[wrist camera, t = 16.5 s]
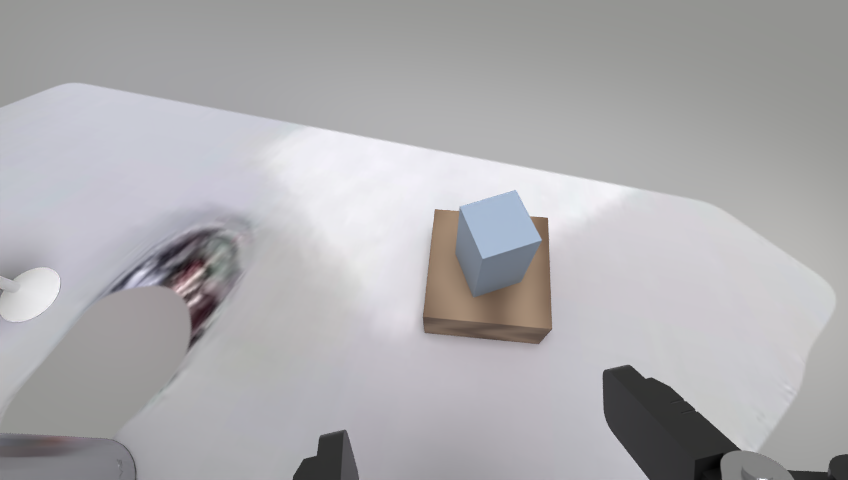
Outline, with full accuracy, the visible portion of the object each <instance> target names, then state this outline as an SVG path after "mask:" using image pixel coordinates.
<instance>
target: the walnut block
mask: <svg viewBox="0 0 848 480" xmlns="http://www.w3.org/2000/svg"><path fill="white" fill-rule="evenodd" d="M530 218H531V220H532V222H533V224H534V226H535V228H536V230H537V232H538V233H539V235H540V237H541V239H542V241H541V243H540V245H539V247H538V249H537V251H536V253H535V255H534V257H533V259H532V261H531V263H530V265H529V267H528V269H527V271H526V273H525V275H524V277H523V279H522V281H521V282H519V283H516V284H513V285H510V286H507V287H504V288H501V289H498V290H495V291H492V292H489V293H486V294H483V295H480V296H477V297H474V298H473V296H472V293H471V291H470V288H469V286H468V284H467V281H466V279H465V276H464V274H463V271H462V269H461V266H460V264H459V261H458V259H457V256H456V254H455V251H456V241H457V231H458V221H459V211H450V210H437V209H435V214H434V223H433V232H432V241H431V250H430V259H429V268H428V277H427V286H426V295H425V304H424V313H423V321H424V330H425V333H432V334H442V335H453V336H463V337H473V338H483V339H493V340H503V341H514V342H524V343H534V344H539V343H540V342H541V341H542V340H543V339H544V337H545V336H546V335H547V334H548V333H549V332H550V331H551V330H552V317H551V289H550V261H549V234H548V218H544V217H530Z"/></svg>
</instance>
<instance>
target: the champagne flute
mask: <svg viewBox="0 0 848 480" xmlns="http://www.w3.org/2000/svg"><path fill="white" fill-rule="evenodd" d="M0 289H3V290H4V291H3V293H2V294H1V297H0V314H1V316H2V317H3V318H4V319H6V320H8V321H11V322H23V321H27V320H30V319H32V318H34V317H36V316H38V315H40V314H41V313H42V312H44V311H45V310H46V309H47V308H48V307H49V306H50V305H51V304H52V303H53V301H54V300H55V299H56V297H57V295H58V292H59V289H60V278H59V275H58V274H57V273H56V272H55V271H54V270H52V269H50V268H45V267H40V268H34V269H30V270H28V271H26V272H24V273H22V274H20V275H19V276H17V277H16V278H15V279H13V280H10V279H7V278H5V277H2V276H0Z"/></svg>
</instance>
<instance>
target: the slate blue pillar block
mask: <svg viewBox="0 0 848 480" xmlns="http://www.w3.org/2000/svg"><path fill="white" fill-rule="evenodd" d="M541 241H542V239H541V237H540V235H539V233H538V232H537V230H536V228H535V226H534V224H533V222H532V220H531V218H530V216H529V214H528V212H527V210H526V209H525V207H524V205H523V203H522V201H521V199H520V197H519V195H518V193H517V191H516V190H514V191H511V192H507V193H504V194H501V195H497V196H494V197H491V198H487V199H484V200H481V201H477V202H474V203H471V204H467V205H464V206H461V207H460V211H459V221H458V231H457V241H456V251H455V254H456V256H457V259H458V261H459V264H460V266H461V269H462V271H463V274H464V276H465V279H466V281H467V284H468V286H469V288H470V291H471V293H472V296H473V298H474V297H477V296H480V295H483V294H486V293H489V292H492V291H495V290H498V289H501V288H504V287H507V286H510V285H513V284H516V283H519V282H521V281H522V279H523V277H524V275H525V273H526V271H527V269H528V267H529V265H530V263H531V261H532V259H533V257H534V255H535V253H536V251H537V249H538V247H539V245H540V243H541Z"/></svg>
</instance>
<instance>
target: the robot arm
mask: <svg viewBox="0 0 848 480" xmlns="http://www.w3.org/2000/svg"><path fill="white" fill-rule="evenodd" d="M603 403H604V414H605V418H606V421H607V423H608V426H609V427H610V429H611V431H612V432H613V434H614V435H615V436H616V437H617V439H618V440H619V441H620V443H621V444H622V445H623V446H624V448H625V449H626V450H627V451H628V453H629V454H630V455H631V457H632V458H633V459H634V460H635V462H636V463H637V464H638V466H639V467H640V468H641V469H642V471H643V472H644V473H645V475H646V476H647V477H648V478H649V480H848V454H845V455H839V456H836V457H834V458H832V460H831V461H830V464H829V468H828V472H811V471H810V472H809V471H791V470H786V469H785V468H784V467H783V466H781V465H780V464H779V463H777V462H776V461H774V460H772V459H770V458H768V457H766V456H764V455H761V454H758V453H755V452H750V451H742V450H740V449H739V448H738V447H737V446H736V445H735V444H734V443H733V442H731V441H730V440H729V439H728V438H727V437H726V436H725V435H724V434H722V433H721V432H720V431H719V430H718V429H717V428H716V427H715V426H713V425H712V424H711V423H710V422H709V421H708V420H707V419H706V418H704V417H703V416H702V415H701V414H700V413H699V412H696V411H695V409H694V408H693V407H692V406H691V405H690V404H689V403H688V402H686V401H684V399H683V398H682V397H681V396H680V395H679V394H678V393H676V392H675V391H674V390H673V389H672V388H671V387H670V386H668V385H666V384H664V383H662V382H660V381H658V380H656V379H654V378H647V379H645V378H644V377H643V376H642V375H641V374H640V373H638V372H637V371H636V370H635V369H634V368H633V367H632V366H630V365H624V366H620V367H616V368H611V369H607V370H604V372H603ZM0 480H135V467H134V462H133V459H132V457H131V455H130V453H129V452H128V451H127V449H126V448H125V447H124V446H123V445H121V444H120V443H118V442H116V441H113V440H110V439H102V438H84V437H83V438H82V437H69V436H68V437H67V436H49V435H31V434H11V433H0ZM293 480H359V476H358V470H357V466H356V463H355V459H354V455H353V452H352V448H351V444H350V441H349V437H348V434H347V431H346V430H342V431H337V432H333V433H329V434H325V435H321V436H320V438H319V444H318V451H317V456H314V457H310V458H306V459H304V460H303V461H302V463H301V465H300V466H299V468H298V469H297V471H296V473H295V474H294V476H293Z"/></svg>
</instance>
